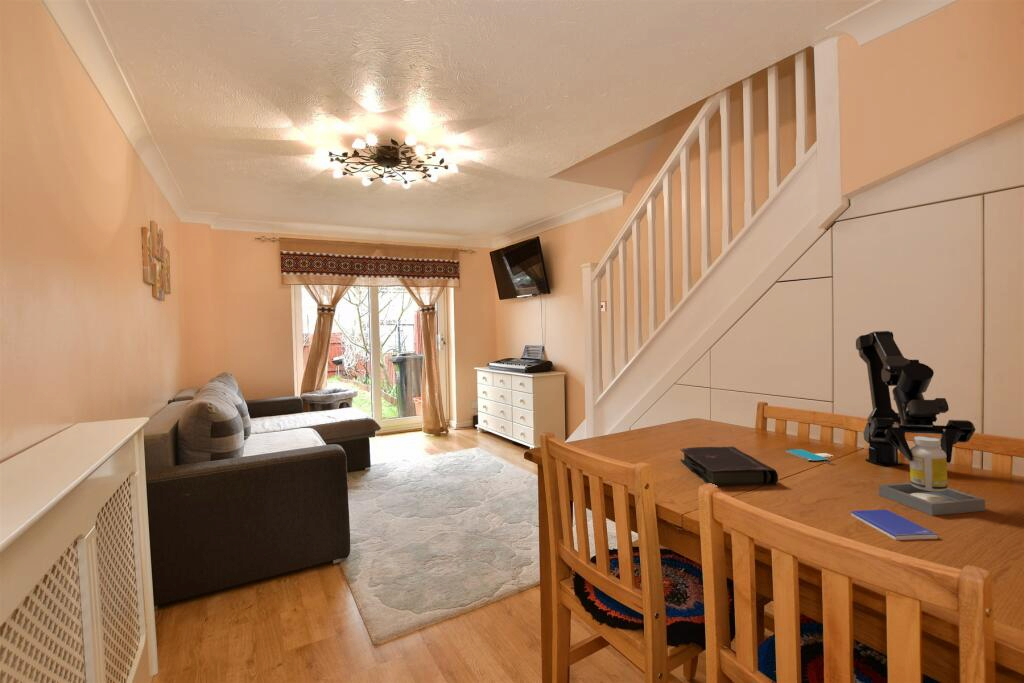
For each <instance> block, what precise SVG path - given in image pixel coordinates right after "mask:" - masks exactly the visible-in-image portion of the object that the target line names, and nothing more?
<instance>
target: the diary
mask: <svg viewBox="0 0 1024 683" xmlns="http://www.w3.org/2000/svg"><path fill="white" fill-rule="evenodd" d="M679 450H680V451H681V452H682V453H683V459H681V458H680V462H681V463H682V464H683V465H684V466H685V467H686V468H687V469H689V470H690V471H691V472H692V473H694V474H695V475H696V476H697V477H698V478H699V479H702V480H703V482H704V483H705V484H707V483H712V484H715V485H717V486H718V487H717V488H732V487H733V488H735V487H736V488H737V487H742V488H743V487H763V486H764V487H765V486H769V487H770V486H777V483H778V481H779V474H778V472H777V470H776V469H774V468H773V467H770V466H769V465H767V464H765V463H763V462H761V461H760V460H758V459H756V458H754V457H753V456H751V455H749V454H747V453H745V452H743V451H742V450H739V449H738V448H736V447H735V446H695V447H694V446H693V447H686V448H685V447H684V448H680V449H679Z"/></svg>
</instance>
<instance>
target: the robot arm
mask: <svg viewBox="0 0 1024 683" xmlns="http://www.w3.org/2000/svg"><path fill="white" fill-rule="evenodd" d="M855 349H856V350H857V351H858V356H859V357H860V359H861V360H862V361H863V362H864V363H865V364H866V367H867V375H868V383H869V391H870V396H871V400H870V401H871V406H872V411H871V412H870V414H869V415H868V417H867V422H866V424H865V426H864V430H863V439H864V441H865V442H866V443H867V444H869V446H868V458H865V461H866V462H870V463H872V464H875V465H879V466H883V467H888V466H889V467H891V466H900V465H904V463H903V462H902V461H899V452H900V453H901V454H902V455H903V456H904V457H905V458H906V459H907V460H908V461H909V462H910V461H912V459H913V458H912V454H911V451H910V449H911V447H909V443H908V441H907V439H906V437H905V436H906V434H923V435H925V434H926V435H927V434H928V435H939V436H940V440H941V446H940V449H941V450H943V451H944V452H945V453H946V456H947V464H950V463H952V462H951V461H952V458H953V457H952V455H953V446H954V445H957V443H968V442H969V441H970V440H971V438H972V436H973V435H974V433H975V431H976V428H975V424H974V423H973V422H972V421H970V420H968V419H949V420H948V421H947V424H946V425H940V424H939V425H935V424H934V423H936V422H937V421H938V418H937V415H940V414H946V413H948V412H949V409H950V408H949V404H948V401H947V399H946V397H935V398H934V399H925V397H924V395H923V394H924V393H926V392H927V390H928V388H929V386H930V384H931V381H932V379H933V377H934V374H935V373H934V372H935V371H934V369H933V368H931V367H930V366H929V365H927V364H925V363H922V362H920V360H919V359H909V358H907V357H905V356H904V355H903V354H902V351H901V350H900V348H899V347H898V344H897V343H896V341H895V339H894V333H893V331H890V330H883V331H881V330H880V331H879V330H878V331H873V332H869V333H867V334H863V335H860V336H858V337H857V338H856V339H855ZM890 387H894V388H893V389H892V392H891V393H892V395H893V401H894V402H895V406H896V410H897V411H898V412H896V411H895V410H894V409H893V408H892V407H893V406H892V402H891V400H892V399H891V393H890ZM898 451H899V452H898Z"/></svg>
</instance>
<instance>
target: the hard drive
mask: <svg viewBox="0 0 1024 683" xmlns="http://www.w3.org/2000/svg"><path fill="white" fill-rule="evenodd" d="M850 515H851V516H852V517H854V518H856V519H857V520H859V521H861V522H863V523H864V524H866V525H868V526H870V527H872V528H873V529H876V530H877V531H878V532H881V533H883V534H885V535H886V536H888V537H889V538H891V539H893V540H895V541H900V540H901V541H902V540H905V541H907V540H926V539H927V540H928V539H929V540H931V539H932V540H934V539H935V540H936V539H938V538H939V537H938V534H937V533H936V532H934V531H932V530H930V529H928V528H926V527H923V526H921V525H920V524H918V523H915V522H914V521H911V520H910V519H908V518H905V517H903V516H901V515H899V514H897V513H894V512H893V511H891V510H888V509H866V510H852V511H851V512H850Z"/></svg>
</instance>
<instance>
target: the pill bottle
mask: <svg viewBox="0 0 1024 683" xmlns="http://www.w3.org/2000/svg"><path fill="white" fill-rule="evenodd" d="M913 443H914V446H912V447H910V451H911V454H912V458H913V459H912V461H909V477H910V478H909V479H910V482H911V485H912V486H914V487H916V488H919V489H922V490H927V491H945V490H946V489H947V488H948V467H947V466H948V465H947V464H948V463H947V456H946V453H945V452H944V451H943V450H942V449H941V438H938V437H935V436H928V435H918V436H917V435H916V436H914V437H913Z"/></svg>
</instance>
